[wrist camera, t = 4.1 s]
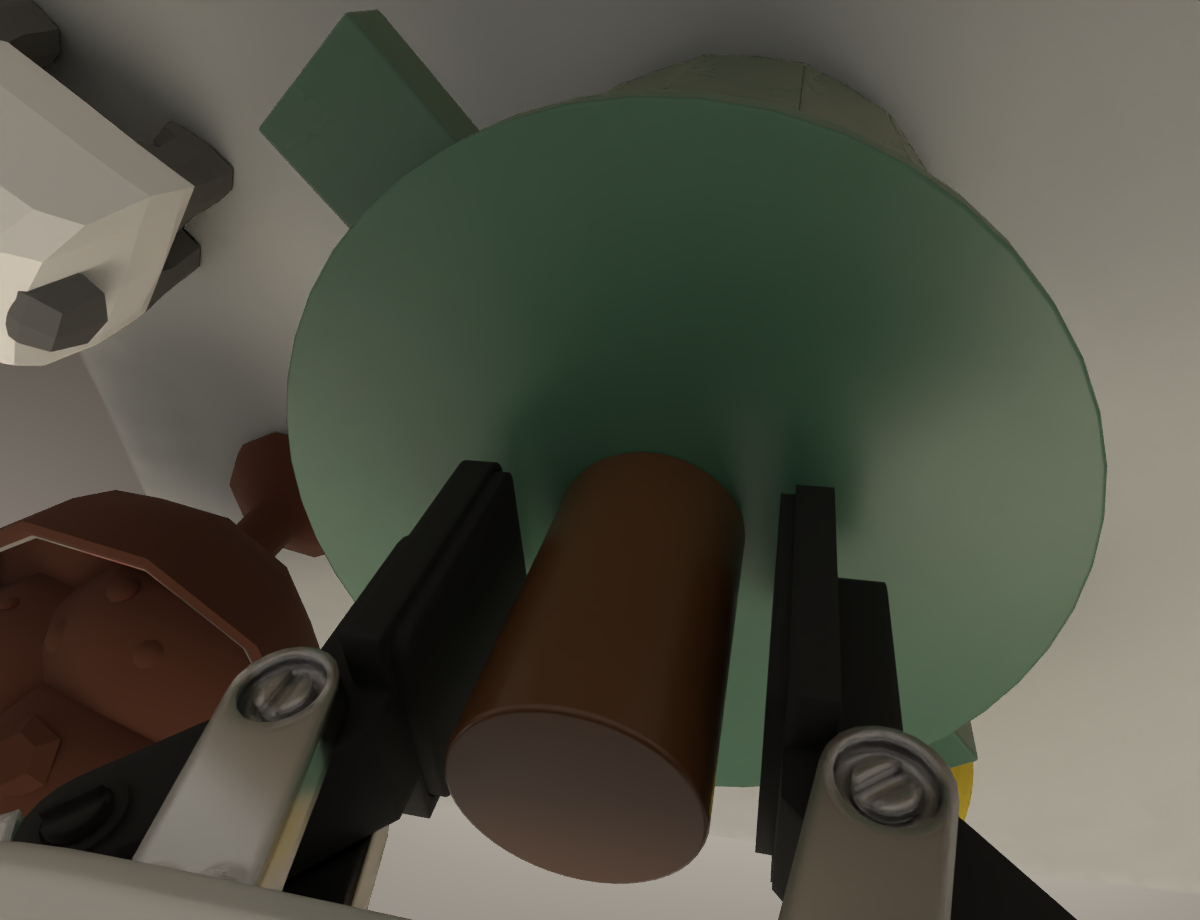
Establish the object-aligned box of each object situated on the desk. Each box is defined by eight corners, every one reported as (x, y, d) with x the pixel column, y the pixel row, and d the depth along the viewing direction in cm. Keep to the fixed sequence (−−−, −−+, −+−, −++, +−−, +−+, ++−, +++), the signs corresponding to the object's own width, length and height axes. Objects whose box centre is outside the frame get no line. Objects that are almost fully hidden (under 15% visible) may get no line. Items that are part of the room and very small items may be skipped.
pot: (701, -176, 17) (570, -330, 8) (1078, 401, 22) (1265, 718, 13) (383, 174, 23) (98, 315, 14) (735, 569, 27) (694, 869, 18)
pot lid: (746, -179, 9) (648, -375, 4) (1236, 593, 12) (1538, 1046, 7) (199, 404, 15) (-117, 631, 10) (623, 800, 19) (550, 1117, 13)
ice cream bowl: (380, 357, 26) (-9, 713, 14) (459, 610, 32) (231, 1023, 19) (125, 368, 29) (-387, 671, 17) (238, 598, 35) (-82, 952, 22)
